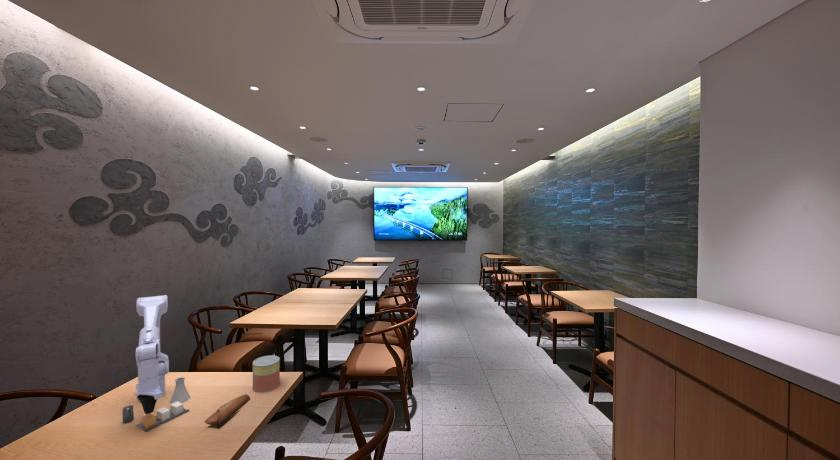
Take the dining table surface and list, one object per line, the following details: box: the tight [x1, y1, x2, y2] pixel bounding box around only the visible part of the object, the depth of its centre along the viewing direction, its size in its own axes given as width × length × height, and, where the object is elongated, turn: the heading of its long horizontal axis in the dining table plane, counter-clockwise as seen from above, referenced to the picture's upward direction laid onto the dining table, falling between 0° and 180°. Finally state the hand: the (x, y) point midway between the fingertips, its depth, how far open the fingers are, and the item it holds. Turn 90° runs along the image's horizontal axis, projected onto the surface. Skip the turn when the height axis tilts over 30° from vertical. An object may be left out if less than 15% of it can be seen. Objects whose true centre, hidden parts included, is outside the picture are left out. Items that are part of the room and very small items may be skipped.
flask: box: [169, 376, 191, 404], centre depth 133 cm, size 7×7×10 cm
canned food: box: [252, 354, 281, 394], centre depth 146 cm, size 11×11×12 cm
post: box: [121, 404, 135, 424], centre depth 119 cm, size 4×4×6 cm
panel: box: [135, 407, 190, 433], centre depth 121 cm, size 8×14×2 cm, turn 153°
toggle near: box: [169, 401, 184, 415], centre depth 125 cm, size 4×2×3 cm, turn 63°
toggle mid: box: [156, 406, 170, 421], centre depth 121 cm, size 4×2×3 cm, turn 63°
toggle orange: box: [141, 413, 157, 428], centre depth 117 cm, size 4×2×3 cm, turn 63°
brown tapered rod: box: [203, 393, 251, 429], centre depth 125 cm, size 18×7×7 cm
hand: (149, 412), depth 117 cm, fingers closed
